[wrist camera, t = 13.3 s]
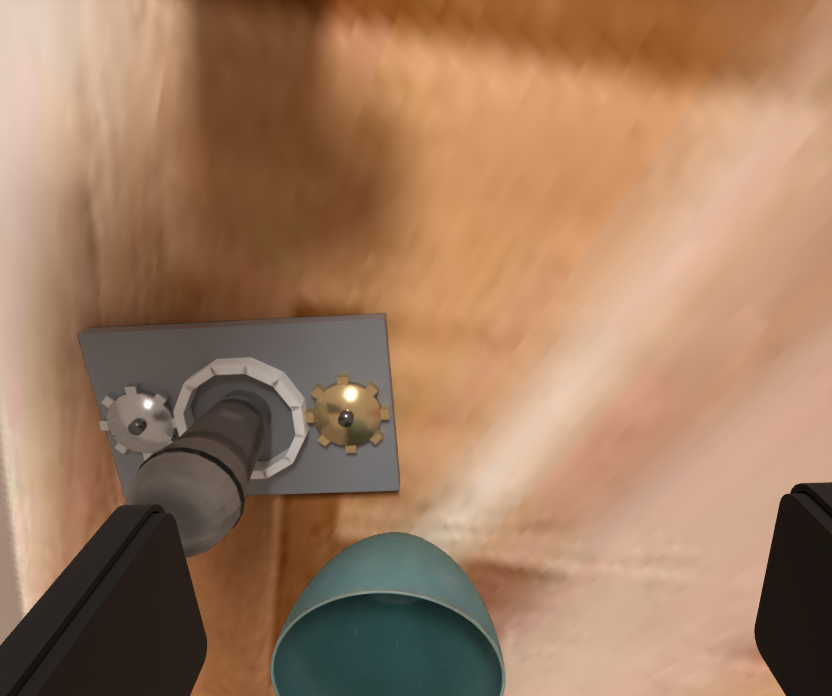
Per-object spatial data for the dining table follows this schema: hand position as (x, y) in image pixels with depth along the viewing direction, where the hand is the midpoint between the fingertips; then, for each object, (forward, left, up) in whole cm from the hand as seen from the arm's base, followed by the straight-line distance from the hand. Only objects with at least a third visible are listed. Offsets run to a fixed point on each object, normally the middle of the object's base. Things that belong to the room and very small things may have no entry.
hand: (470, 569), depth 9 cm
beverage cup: (+15, -17, -35) cm, 42 cm away
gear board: (+15, -17, -36) cm, 43 cm away
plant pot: (+33, -6, -36) cm, 50 cm away
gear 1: (+15, -26, -35) cm, 46 cm away
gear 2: (+15, -9, -35) cm, 39 cm away
